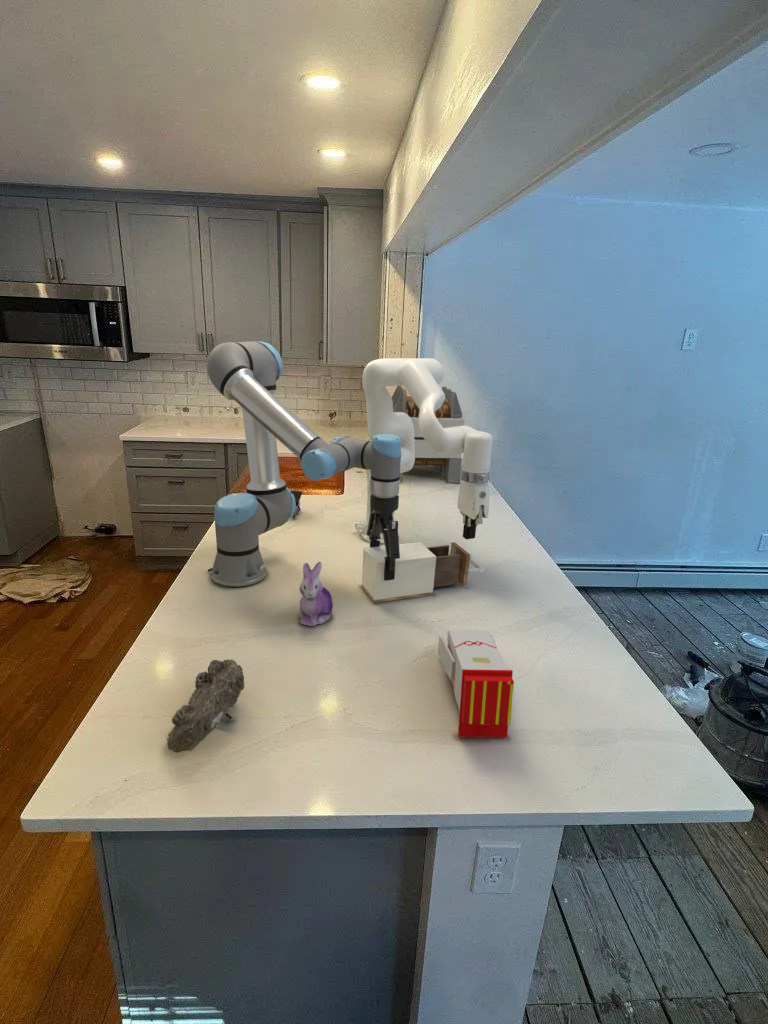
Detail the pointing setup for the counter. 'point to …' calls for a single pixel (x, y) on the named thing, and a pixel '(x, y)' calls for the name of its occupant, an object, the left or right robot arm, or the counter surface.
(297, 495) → the figurine character
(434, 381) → the right robot arm
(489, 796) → the counter surface
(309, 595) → the figurine
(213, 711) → the fossil
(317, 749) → the counter surface
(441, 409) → the transformer
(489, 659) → the toy
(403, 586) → the cabinet
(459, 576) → the drawer
